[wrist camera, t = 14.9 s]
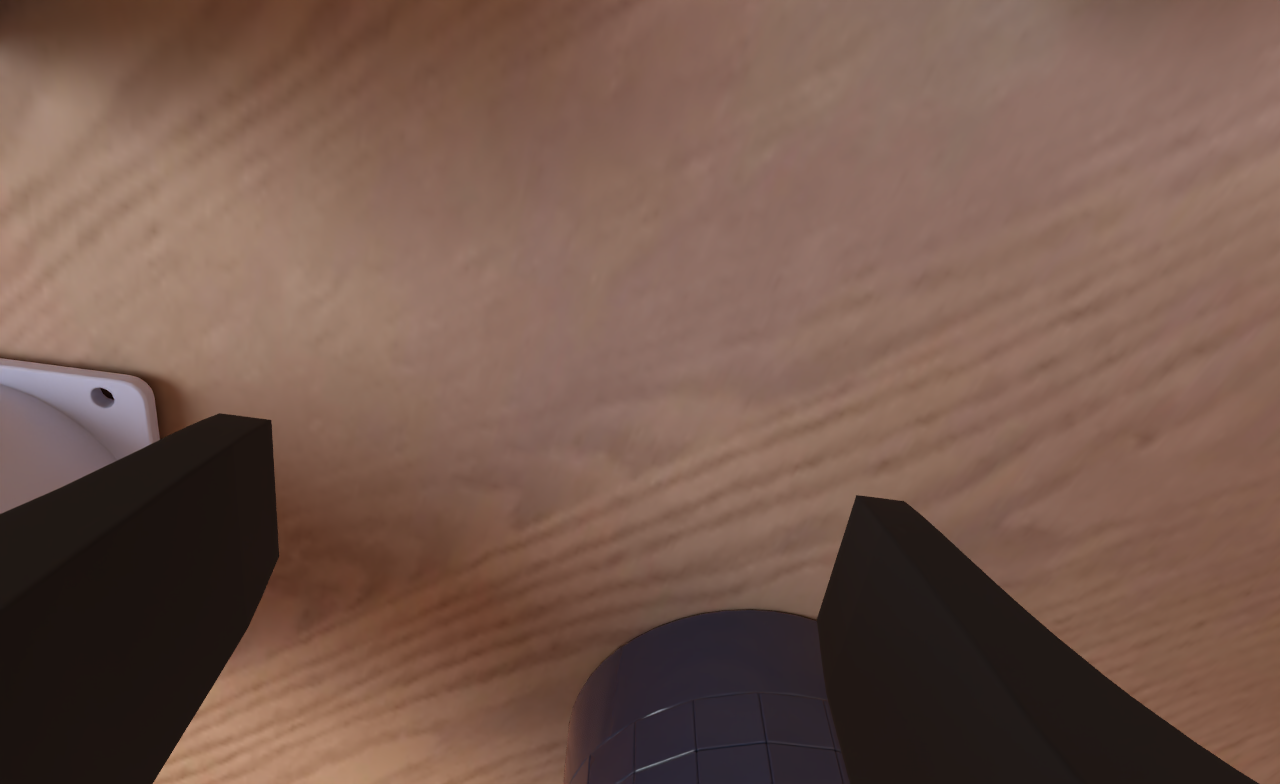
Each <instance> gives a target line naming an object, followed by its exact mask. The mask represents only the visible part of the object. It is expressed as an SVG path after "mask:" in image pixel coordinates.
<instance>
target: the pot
mask: <svg viewBox="0 0 1280 784" xmlns="http://www.w3.org/2000/svg"><path fill="white" fill-rule="evenodd" d="M563 784H850V781H849V778H848V774H847V770H846V767H845V763H844V759H843V756H842V752H841V748H840V745H839V741H838V737H837V733H836V729H835V726H834V722H833V718H832V714H831V710H830V706H829V702H828V698H827V694H826V688H825V681H824V674H823V667H822V660H821V652H820V643H819V634H818V626H817V621H816V620H813V619H809V618H806V617H802V616H799V615H794V614H788V613H782V612H776V611H764V610H725V611H718V612H711V613H703V614H699V615H694V616H690V617H686V618H682V619H678V620H675V621H673V622H670V623H667V624H664V625H661V626H659V627H656V628H654V629H652V630H650V631H648V632H646V633H644V634H642V635H640V636H638V637H636V638H634V639H633V640H631V641H630V642H628V643H627V644H625V645H623V646H622V647H620V648H619V649H618V650H616V651H615V652H614V653H613V654H612V655H610V656H609V657H608V658H607V659H606V660H604V661H603V662H602V664H601V665H600V666H599V667H598V668H597V669H596V670H595V671H594V672H593V673H592V675H591V676H590V677H589V679H588V680H587V682H586V683H585V685H584V686H583V688H582V689H581V691H580V693H579V695H578V697H577V699H576V702H575V704H574V706H573V710H572V714H571V718H570V721H569V730H568V740H567V750H566V761H565V771H564V781H563Z"/></svg>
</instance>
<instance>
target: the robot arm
mask: <svg viewBox="0 0 1280 784" xmlns="http://www.w3.org/2000/svg"><path fill="white" fill-rule="evenodd" d="M100 388H103V389H106V390H108V391H109V392H110V393H111V394H112V395H113V397H114V399H115V400H112V399H109V398H107V397H106V396H105V395H104V394H103V393H102V391H101V389H100ZM278 557H279V547H278V529H277V512H276V494H275V476H274V459H273V441H272V424H271V420H267V419H259V418H251V417H243V416H236V415H228V414H217V415H214V416H212V417H209V418H207V419H204V420H202V421H199V422H197V423H195V424H193V425H190V426H188V427H186V428H184V429H182V430H180V431H177V432H175V433H173V434H171V435H169V436H167V437H165V438H163V439H161V440H160V436H159V428H158V421H157V413H156V405H155V397H154V394H153V391H152V389H151V388H150V386H149V385H148V384H147V383H146V382H145V381H143V380H142V379H140V378H138V377H135V376H132V375H126V374H118V373H111V372H103V371H95V370H88V369H80V368H72V367H65V366H57V365H49V364H42V363H34V362H26V361H19V360H11V359H3V358H0V784H153V782H154V780H155V779H156V777H157V775H158V774H159V772H160V771H161V769H162V767H163V766H164V764H165V763H166V761H167V759H168V758H169V756H170V754H171V753H172V751H173V750H174V748H175V746H176V745H177V743H178V741H179V740H180V738H181V737H182V735H183V733H184V732H185V730H186V729H187V727H188V725H189V724H190V722H191V720H192V719H193V717H194V716H195V714H196V712H197V711H198V709H199V707H200V706H201V704H202V703H203V701H204V699H205V698H206V696H207V695H208V693H209V691H210V690H211V688H212V686H213V685H214V683H215V681H216V680H217V678H218V677H219V675H220V673H221V672H222V670H223V668H224V667H225V665H226V663H227V662H228V660H229V658H230V657H231V655H232V653H233V652H234V650H235V648H236V647H237V645H238V643H239V642H240V640H241V638H242V637H243V635H244V633H245V632H246V630H247V628H248V626H249V624H250V622H251V620H252V617H253V615H254V613H255V611H256V609H257V606H258V604H259V602H260V600H261V598H262V595H263V593H264V591H265V588H266V586H267V584H268V581H269V579H270V576H271V574H272V572H273V569H274V567H275V565H276V562H277V560H278ZM817 626H818V634H819V643H820V652H821V660H822V667H823V674H824V681H825V688H826V694H827V698H828V702H829V706H830V710H831V714H832V718H833V722H834V726H835V729H836V733H837V737H838V741H839V745H840V748H841V752H842V756H843V759H844V763H845V767H846V770H847V774H848V778H849V781H850V784H1259V783H1257V782H1255V781H1254V780H1252V779H1251V778H1249V777H1247V776H1246V775H1244V774H1243V773H1241V772H1239V771H1238V770H1236V769H1235V768H1233V767H1232V766H1230V765H1229V764H1227V763H1226V762H1224V761H1223V760H1221V759H1220V758H1218V757H1217V756H1215V755H1214V754H1212V753H1211V752H1209V751H1208V750H1206V749H1205V748H1203V747H1202V746H1200V745H1199V744H1197V743H1196V742H1194V741H1193V740H1191V739H1190V738H1189V737H1187V736H1186V735H1184V734H1183V733H1182V732H1180V731H1179V730H1177V729H1176V728H1175V727H1173V726H1172V725H1170V724H1169V723H1168V722H1166V721H1165V720H1163V719H1162V718H1161V717H1159V716H1158V715H1156V714H1155V713H1154V712H1152V711H1151V710H1150V709H1148V708H1147V707H1145V706H1144V705H1143V704H1141V703H1140V702H1138V701H1137V700H1136V699H1134V698H1133V697H1131V696H1130V695H1129V694H1128V693H1126V692H1125V691H1124V690H1122V689H1121V688H1120V687H1118V686H1117V685H1116V684H1114V683H1113V682H1112V681H1111V680H1109V679H1108V678H1107V677H1105V676H1104V675H1103V674H1102V673H1100V672H1099V671H1098V670H1097V669H1095V668H1094V667H1093V666H1092V665H1091V664H1089V663H1088V662H1087V661H1086V660H1084V659H1083V658H1082V657H1081V656H1080V655H1078V654H1077V653H1076V652H1075V651H1073V650H1072V649H1071V648H1070V647H1069V646H1067V645H1066V644H1065V643H1064V642H1062V641H1061V640H1060V639H1059V638H1057V637H1056V636H1055V635H1054V634H1053V633H1052V632H1050V631H1049V630H1048V629H1047V628H1046V627H1045V626H1043V625H1042V624H1041V623H1040V622H1039V621H1038V620H1036V619H1035V618H1034V617H1033V616H1032V615H1031V614H1030V613H1028V612H1027V611H1026V610H1025V609H1024V608H1023V607H1022V606H1021V605H1019V604H1018V603H1017V602H1016V601H1015V600H1014V599H1013V598H1012V597H1010V596H1009V595H1008V594H1007V593H1006V592H1005V591H1004V590H1003V589H1002V588H1000V587H999V586H998V585H997V584H996V583H995V582H994V581H993V580H992V579H991V578H989V577H988V576H987V575H986V574H985V573H984V572H983V571H982V570H981V569H980V568H979V567H977V566H976V565H975V564H974V563H973V562H972V561H971V560H970V559H969V558H968V557H967V556H966V555H965V554H963V553H962V552H961V551H960V550H959V549H958V548H957V547H956V546H955V545H954V544H953V543H952V542H950V541H949V540H948V539H947V538H946V537H945V536H944V535H943V534H942V533H941V532H940V531H938V530H937V529H936V528H935V527H934V526H933V525H932V524H931V523H930V522H928V521H927V520H926V519H925V518H924V517H923V516H922V515H920V514H919V513H918V512H917V511H916V510H914V509H913V508H912V507H911V506H909V505H908V504H907V503H905V502H904V501H897V500H889V499H882V498H874V497H866V496H858V495H856V498H855V502H854V505H853V508H852V511H851V514H850V517H849V520H848V524H847V527H846V530H845V533H844V536H843V539H842V542H841V546H840V549H839V552H838V555H837V558H836V561H835V564H834V568H833V571H832V574H831V577H830V580H829V583H828V586H827V590H826V593H825V596H824V599H823V602H822V605H821V608H820V612H819V615H818V618H817Z"/></svg>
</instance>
